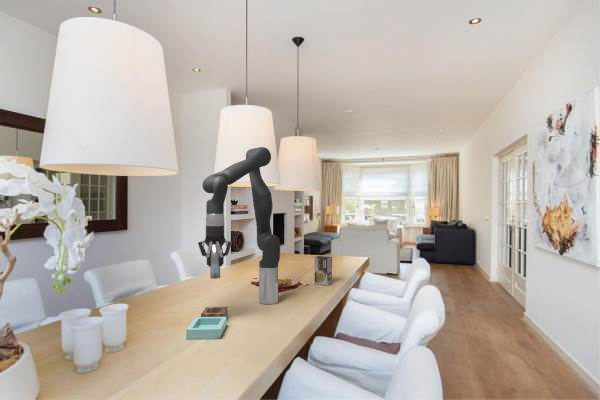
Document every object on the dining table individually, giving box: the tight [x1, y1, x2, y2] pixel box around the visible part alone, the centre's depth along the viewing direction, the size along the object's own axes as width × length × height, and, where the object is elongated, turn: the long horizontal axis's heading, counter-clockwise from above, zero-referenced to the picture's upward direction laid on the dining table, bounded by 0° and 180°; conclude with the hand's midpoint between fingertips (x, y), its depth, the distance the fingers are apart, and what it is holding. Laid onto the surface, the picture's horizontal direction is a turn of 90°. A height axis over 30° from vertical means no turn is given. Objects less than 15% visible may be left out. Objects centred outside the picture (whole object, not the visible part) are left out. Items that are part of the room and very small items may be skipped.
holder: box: [200, 306, 228, 318], centre depth 140 cm, size 9×9×4 cm
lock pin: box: [209, 244, 221, 280], centre depth 140 cm, size 4×4×14 cm
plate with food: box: [250, 277, 310, 292], centre depth 201 cm, size 25×26×4 cm
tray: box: [185, 316, 228, 341], centre depth 127 cm, size 12×13×4 cm
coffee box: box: [313, 255, 333, 287], centre depth 204 cm, size 9×6×16 cm
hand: (215, 265), depth 140 cm, fingers closed on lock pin, 4 cm apart
